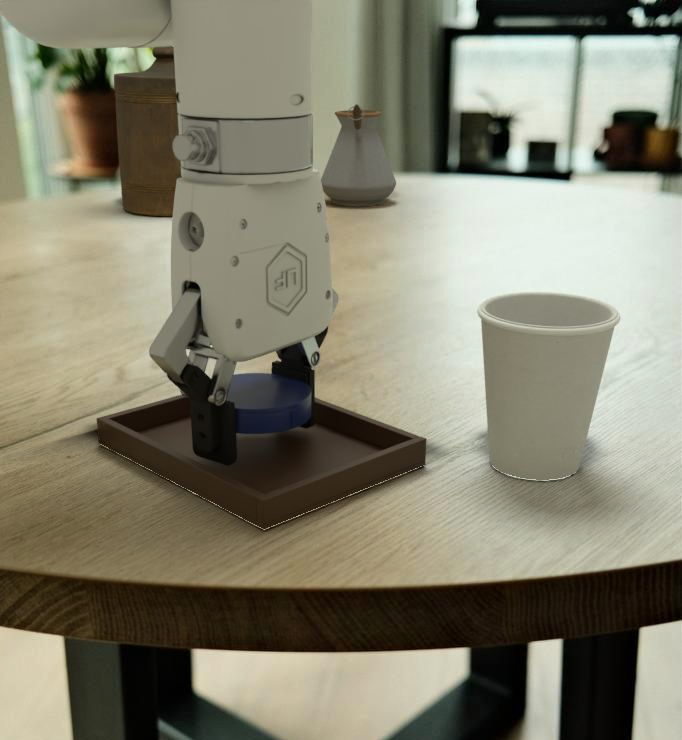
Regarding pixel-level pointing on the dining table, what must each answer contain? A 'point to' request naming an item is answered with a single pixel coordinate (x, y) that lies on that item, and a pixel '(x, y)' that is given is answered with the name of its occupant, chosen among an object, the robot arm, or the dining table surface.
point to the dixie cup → (542, 378)
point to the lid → (269, 402)
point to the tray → (267, 458)
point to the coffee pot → (358, 162)
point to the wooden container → (148, 136)
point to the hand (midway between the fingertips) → (255, 438)
